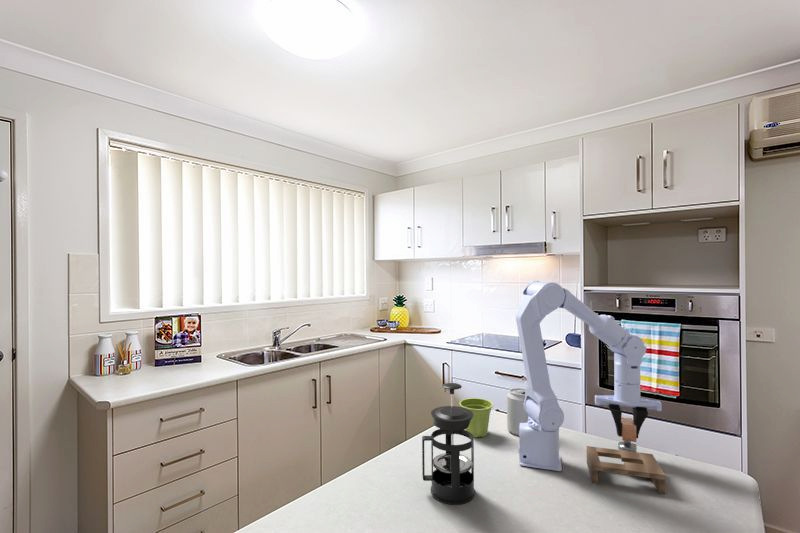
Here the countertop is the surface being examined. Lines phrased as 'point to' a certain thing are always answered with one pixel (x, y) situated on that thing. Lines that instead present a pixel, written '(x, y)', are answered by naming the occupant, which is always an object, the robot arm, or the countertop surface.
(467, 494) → the french press
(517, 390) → the can
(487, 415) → the plant pot
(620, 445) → the peg
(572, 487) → the countertop surface
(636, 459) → the keyhole plate
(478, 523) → the countertop surface
